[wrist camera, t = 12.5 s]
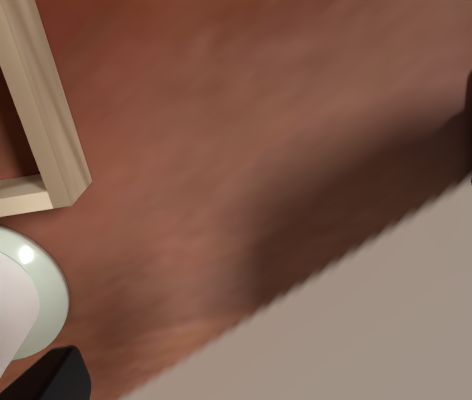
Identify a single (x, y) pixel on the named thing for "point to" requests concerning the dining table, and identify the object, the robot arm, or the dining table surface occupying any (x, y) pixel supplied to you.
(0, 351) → the can
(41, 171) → the holder
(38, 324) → the pale green flat disc
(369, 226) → the dining table surface
